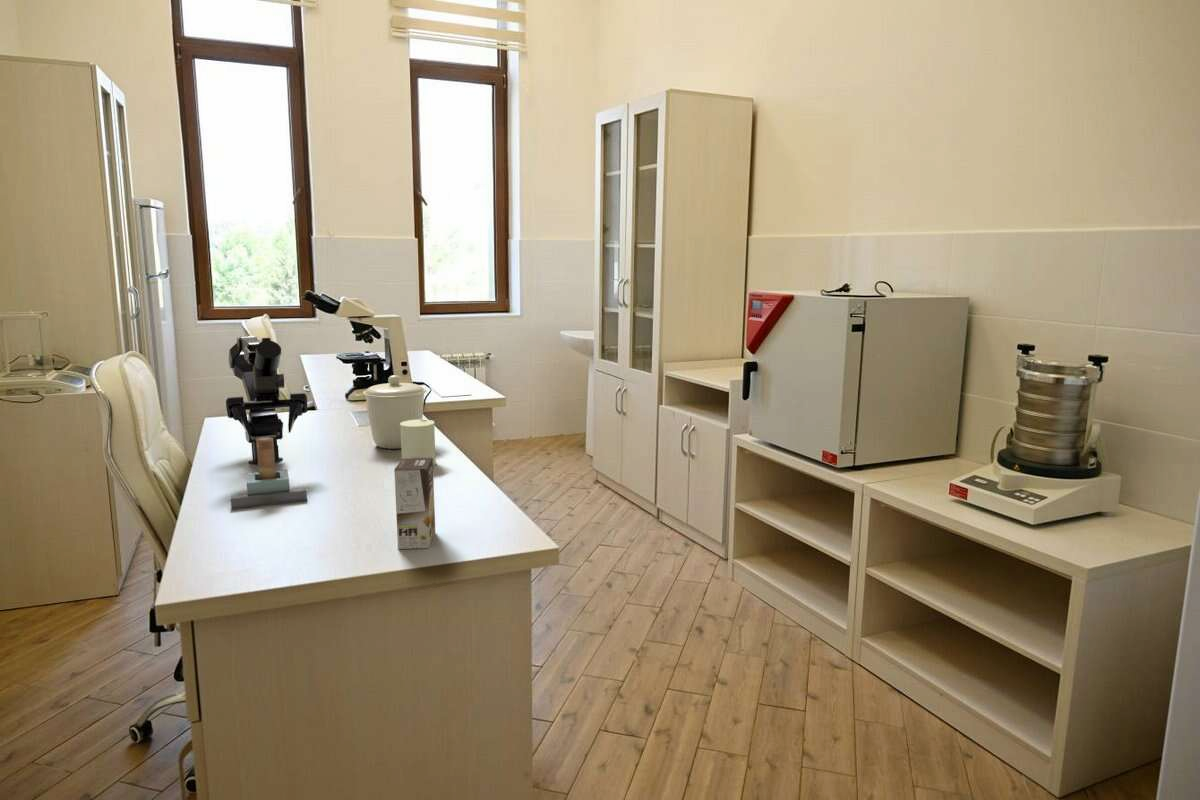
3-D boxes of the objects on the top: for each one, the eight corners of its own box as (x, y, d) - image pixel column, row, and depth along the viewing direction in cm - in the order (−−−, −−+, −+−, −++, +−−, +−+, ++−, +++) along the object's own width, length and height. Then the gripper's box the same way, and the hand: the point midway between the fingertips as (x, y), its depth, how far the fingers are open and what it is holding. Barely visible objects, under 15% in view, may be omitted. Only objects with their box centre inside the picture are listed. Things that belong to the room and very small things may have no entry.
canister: (433, 449, 233) (430, 378, 229) (369, 455, 226) (365, 381, 222) (423, 436, 249) (420, 369, 245) (363, 441, 243) (359, 372, 239)
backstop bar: (231, 507, 180) (230, 496, 180) (306, 498, 187) (305, 488, 186) (231, 509, 179) (230, 498, 178) (307, 500, 185) (306, 490, 184)
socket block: (248, 493, 190) (246, 473, 189) (288, 489, 194) (287, 469, 193) (248, 504, 182) (246, 483, 181) (290, 499, 186) (289, 479, 185)
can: (442, 461, 219) (441, 418, 217) (424, 470, 211) (423, 425, 209) (413, 458, 222) (411, 416, 220) (394, 467, 214) (392, 423, 212)
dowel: (258, 492, 188) (254, 438, 185) (274, 489, 190) (270, 436, 188) (263, 496, 185) (259, 441, 183) (279, 493, 187) (275, 439, 185)
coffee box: (430, 548, 155) (427, 469, 152) (397, 549, 155) (393, 469, 152) (436, 532, 164) (433, 456, 161) (404, 533, 164) (401, 457, 161)
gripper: (223, 365, 195) (224, 418, 187) (304, 361, 202) (309, 412, 194) (227, 391, 204) (229, 443, 196) (304, 386, 211) (309, 436, 203)
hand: (269, 433), depth 197 cm, fingers open, 9 cm apart
